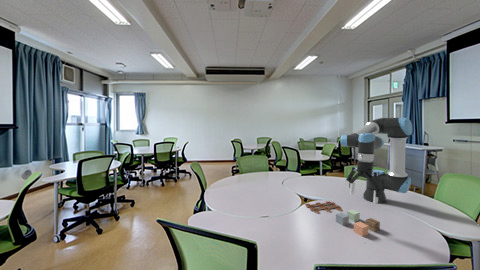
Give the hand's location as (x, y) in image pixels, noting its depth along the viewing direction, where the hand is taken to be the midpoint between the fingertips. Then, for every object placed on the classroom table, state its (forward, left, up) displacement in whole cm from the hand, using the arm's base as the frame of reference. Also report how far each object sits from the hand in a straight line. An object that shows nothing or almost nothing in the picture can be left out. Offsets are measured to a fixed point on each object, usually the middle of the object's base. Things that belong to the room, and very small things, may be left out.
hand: (363, 198), depth 110 cm
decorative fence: (-3, -30, -20) cm, 36 cm away
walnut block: (-7, +2, -19) cm, 20 cm away
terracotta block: (+3, +2, -19) cm, 19 cm away
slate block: (+3, -10, -19) cm, 22 cm away
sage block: (-7, -10, -19) cm, 23 cm away
